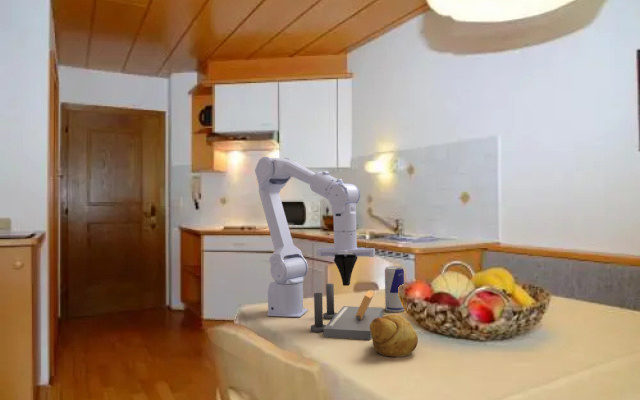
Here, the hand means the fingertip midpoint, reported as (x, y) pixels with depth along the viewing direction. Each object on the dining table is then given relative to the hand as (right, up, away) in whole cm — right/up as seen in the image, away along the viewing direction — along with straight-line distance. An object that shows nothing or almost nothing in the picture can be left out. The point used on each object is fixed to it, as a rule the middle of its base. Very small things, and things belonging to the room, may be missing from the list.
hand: (346, 285), depth 120 cm
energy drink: (+14, -10, +14) cm, 22 cm away
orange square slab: (+3, -8, -1) cm, 8 cm away
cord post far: (-4, -10, +8) cm, 13 cm away
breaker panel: (+2, -10, 0) cm, 10 cm away
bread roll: (+9, -11, -19) cm, 24 cm away
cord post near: (-7, -10, -4) cm, 13 cm away
